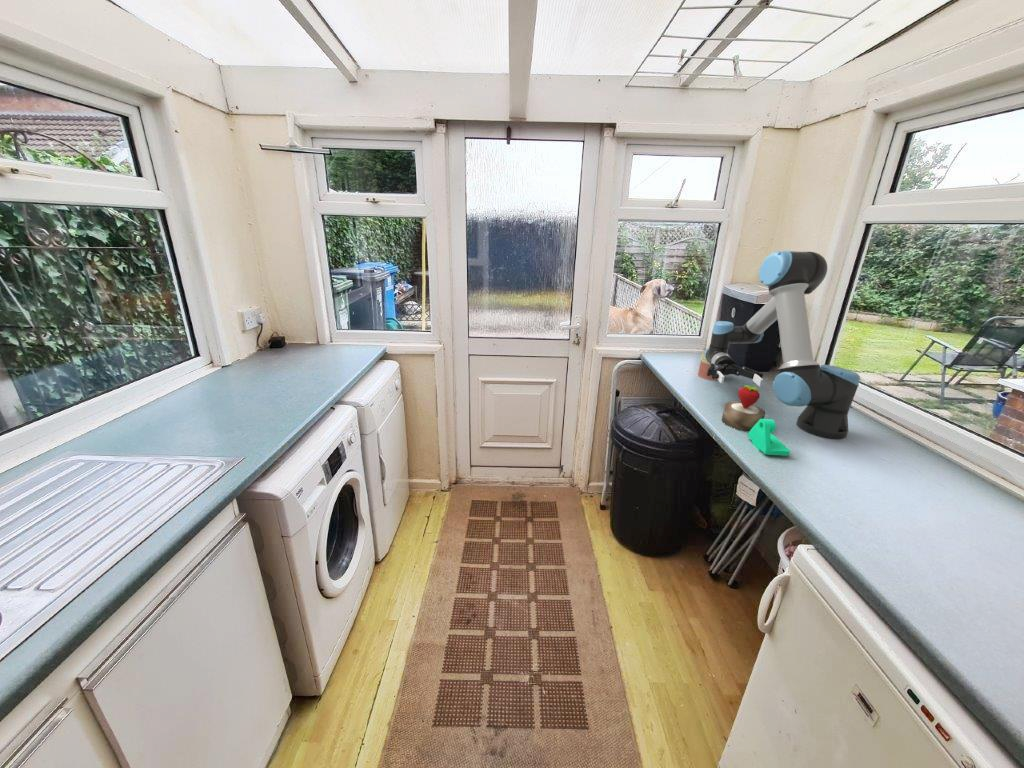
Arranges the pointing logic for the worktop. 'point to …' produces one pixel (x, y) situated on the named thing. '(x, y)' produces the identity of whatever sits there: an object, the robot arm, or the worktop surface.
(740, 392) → the strawberry
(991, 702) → the worktop surface
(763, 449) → the camera mount
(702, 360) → the canned food
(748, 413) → the bronze puck
